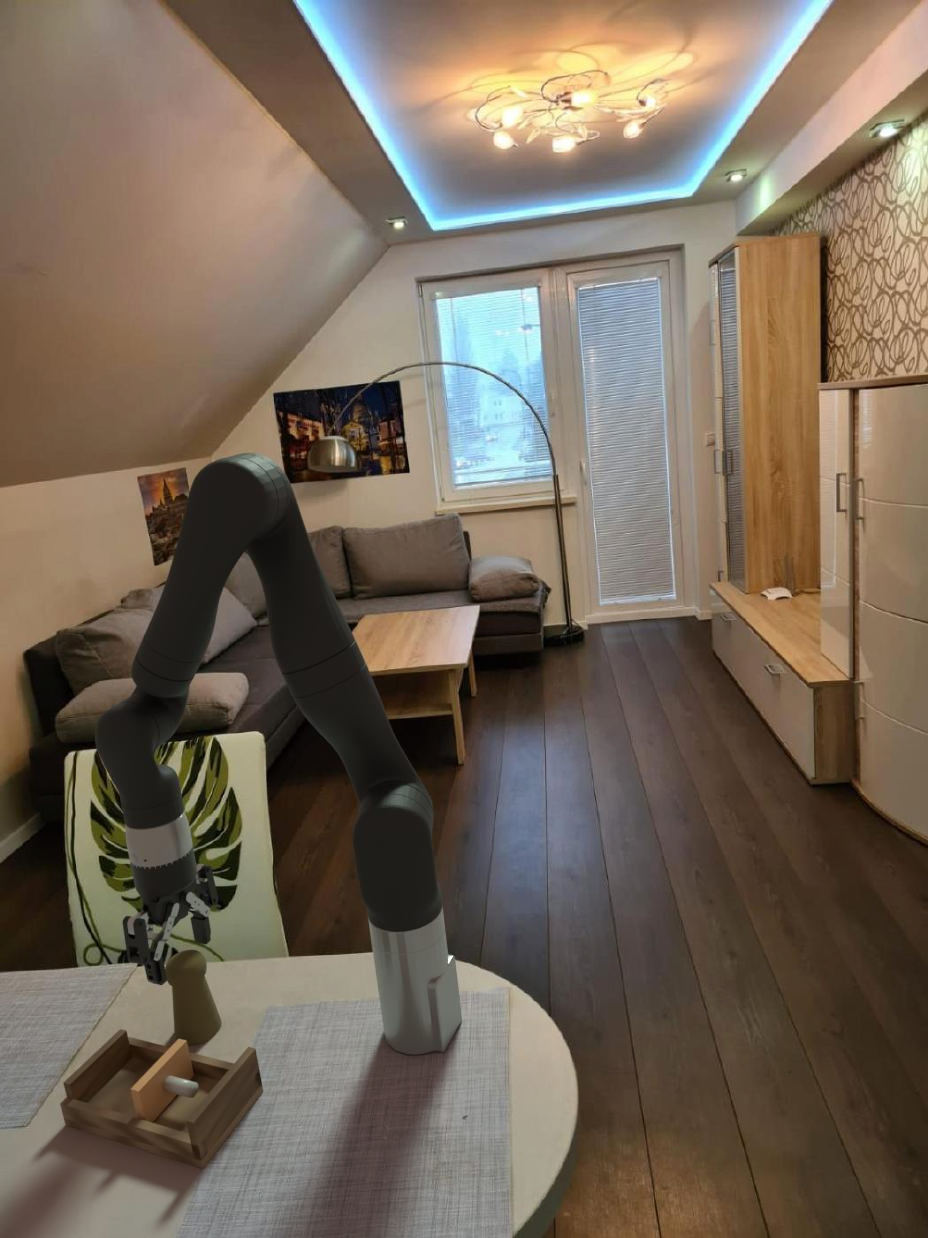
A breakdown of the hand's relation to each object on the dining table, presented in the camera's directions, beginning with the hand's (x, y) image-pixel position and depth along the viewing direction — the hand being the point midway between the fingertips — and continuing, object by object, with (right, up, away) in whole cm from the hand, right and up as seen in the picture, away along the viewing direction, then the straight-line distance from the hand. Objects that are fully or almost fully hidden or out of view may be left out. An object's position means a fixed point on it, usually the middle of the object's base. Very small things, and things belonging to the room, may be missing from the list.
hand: (181, 961), depth 109 cm
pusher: (+4, -12, -11) cm, 17 cm away
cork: (+1, -10, +3) cm, 11 cm away
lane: (+1, -13, -10) cm, 17 cm away
